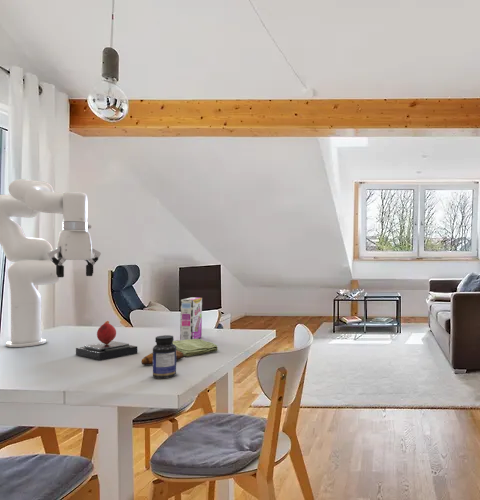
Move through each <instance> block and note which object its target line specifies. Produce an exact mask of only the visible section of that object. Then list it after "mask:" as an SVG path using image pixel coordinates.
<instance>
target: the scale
mask: <svg viewBox="0 0 480 500" xmlns="http://www.w3.org/2000/svg"><path fill="white" fill-rule="evenodd" d="M137 354H138V345H131V344H129V346H124V347H118V348H113V349H107V350H104V351H97V350H93V349H88V348H84V346H80V347H75V356H78V357H82V358H87V359H91V360H95V361H104V360H112V359H115V358H121V357H125V356H131V355H137Z"/></svg>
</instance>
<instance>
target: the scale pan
mask: <svg viewBox="0 0 480 500" xmlns="http://www.w3.org/2000/svg"><path fill="white" fill-rule="evenodd" d="M129 345H130V344H129V343H127V342H123V341H122V342H121V341H116V340H112V341H111V342H110V343H109V344H107V345H106V344H104V343H102V342H98V343H97V342H96V343H91V344H85V345H83V347H84V348H88V349H93V350H97V351H104V350H107V349H113V348H118V347H124V346H129Z"/></svg>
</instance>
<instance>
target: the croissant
mask: <svg viewBox="0 0 480 500" xmlns="http://www.w3.org/2000/svg"><path fill="white" fill-rule="evenodd" d="M184 357H185V356H184V355H183V353H182V352H180V351H177V350H176V361H178V360H181V359H183V358H184ZM140 362H141V365H142V366H149V365H153V352H151V353H148V354H147V355H146V356H144V357H143V358H142V359H141V361H140Z"/></svg>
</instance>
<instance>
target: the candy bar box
mask: <svg viewBox="0 0 480 500" xmlns="http://www.w3.org/2000/svg"><path fill="white" fill-rule="evenodd" d="M202 322H203V297H197V296H196V297H188V298H183V299H180V326H179V328H180V332H179V341H180V340H188V339H201V338H202V337H203V336H202V334H203V332H202V331H203V329H202V327H203V323H202Z"/></svg>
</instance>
